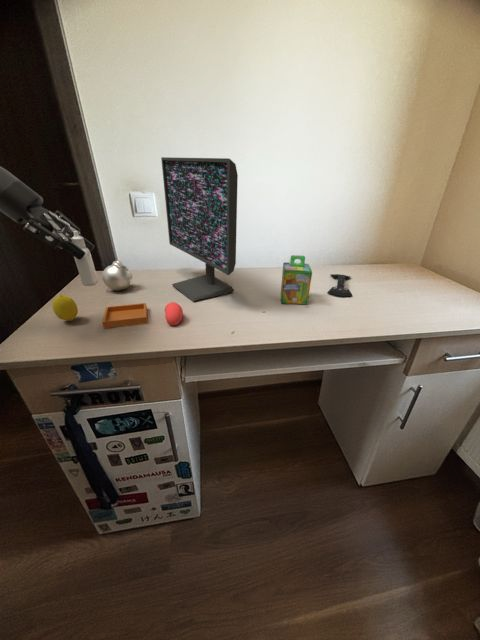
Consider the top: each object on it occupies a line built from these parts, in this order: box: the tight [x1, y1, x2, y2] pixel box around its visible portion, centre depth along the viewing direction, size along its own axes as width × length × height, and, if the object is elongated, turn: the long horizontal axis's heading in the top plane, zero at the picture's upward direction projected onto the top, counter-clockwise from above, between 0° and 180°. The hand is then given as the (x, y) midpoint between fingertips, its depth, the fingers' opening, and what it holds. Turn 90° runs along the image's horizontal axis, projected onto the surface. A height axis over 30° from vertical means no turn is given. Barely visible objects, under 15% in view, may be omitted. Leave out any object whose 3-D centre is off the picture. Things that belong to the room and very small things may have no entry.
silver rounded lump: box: [101, 259, 133, 292], centre depth 98 cm, size 9×10×10 cm
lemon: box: [51, 294, 79, 322], centre depth 78 cm, size 6×6×8 cm
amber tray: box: [101, 302, 148, 329], centre depth 82 cm, size 11×10×2 cm
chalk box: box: [280, 254, 313, 306], centre depth 95 cm, size 9×9×15 cm
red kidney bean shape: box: [164, 301, 184, 326], centre depth 82 cm, size 5×9×6 cm
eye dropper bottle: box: [70, 231, 99, 287], centre depth 67 cm, size 4×6×12 cm
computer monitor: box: [160, 156, 239, 302], centre depth 92 cm, size 44×16×40 cm, turn 37°
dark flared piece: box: [327, 273, 353, 298], centre depth 111 cm, size 9×25×3 cm, turn 166°
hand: (87, 252), depth 66 cm, fingers closed on eye dropper bottle, 5 cm apart
